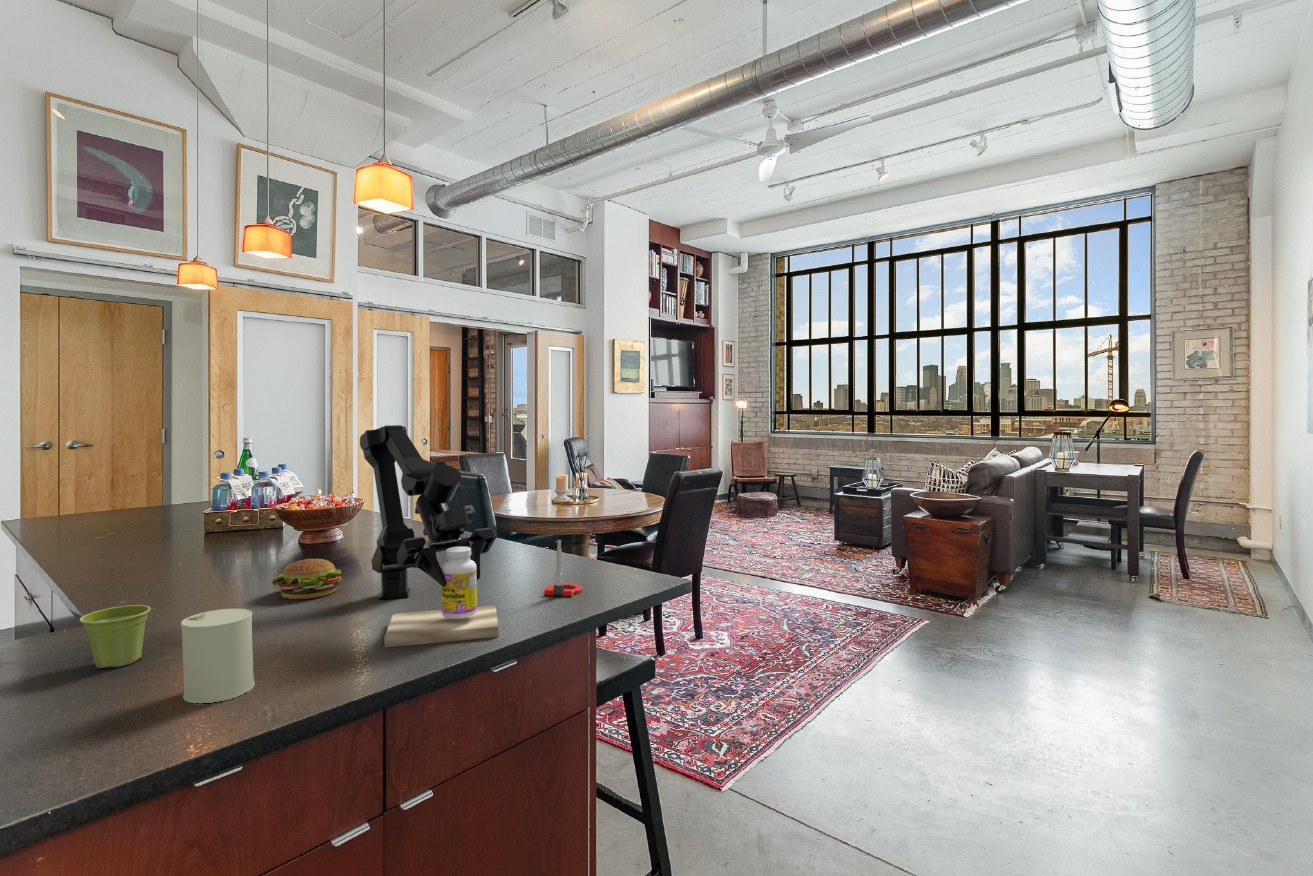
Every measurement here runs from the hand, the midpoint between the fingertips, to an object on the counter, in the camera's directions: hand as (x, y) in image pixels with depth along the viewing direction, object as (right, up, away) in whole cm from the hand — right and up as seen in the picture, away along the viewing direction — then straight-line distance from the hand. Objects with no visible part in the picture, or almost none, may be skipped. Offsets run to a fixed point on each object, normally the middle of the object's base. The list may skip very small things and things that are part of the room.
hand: (461, 582), depth 128 cm
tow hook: (+16, -9, +29) cm, 34 cm away
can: (-29, -11, -26) cm, 41 cm away
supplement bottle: (-1, -7, +1) cm, 7 cm away
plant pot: (-54, -11, -15) cm, 57 cm away
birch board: (-4, -10, +1) cm, 11 cm away
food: (-45, -9, +29) cm, 54 cm away
